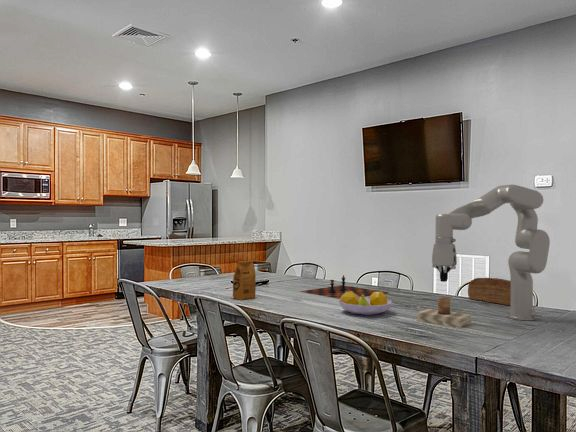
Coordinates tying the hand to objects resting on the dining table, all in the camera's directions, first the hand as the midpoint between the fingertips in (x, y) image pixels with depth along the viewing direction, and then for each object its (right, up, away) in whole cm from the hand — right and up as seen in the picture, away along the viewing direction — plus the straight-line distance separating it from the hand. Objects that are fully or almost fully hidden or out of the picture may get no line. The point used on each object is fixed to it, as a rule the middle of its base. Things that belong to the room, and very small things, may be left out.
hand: (443, 281), depth 213 cm
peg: (0, -19, 0) cm, 19 cm away
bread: (+47, -20, +53) cm, 73 cm away
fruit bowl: (-33, -19, +21) cm, 43 cm away
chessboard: (-35, -20, +86) cm, 95 cm away
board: (0, -19, 0) cm, 19 cm away
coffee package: (-96, -19, +61) cm, 116 cm away
